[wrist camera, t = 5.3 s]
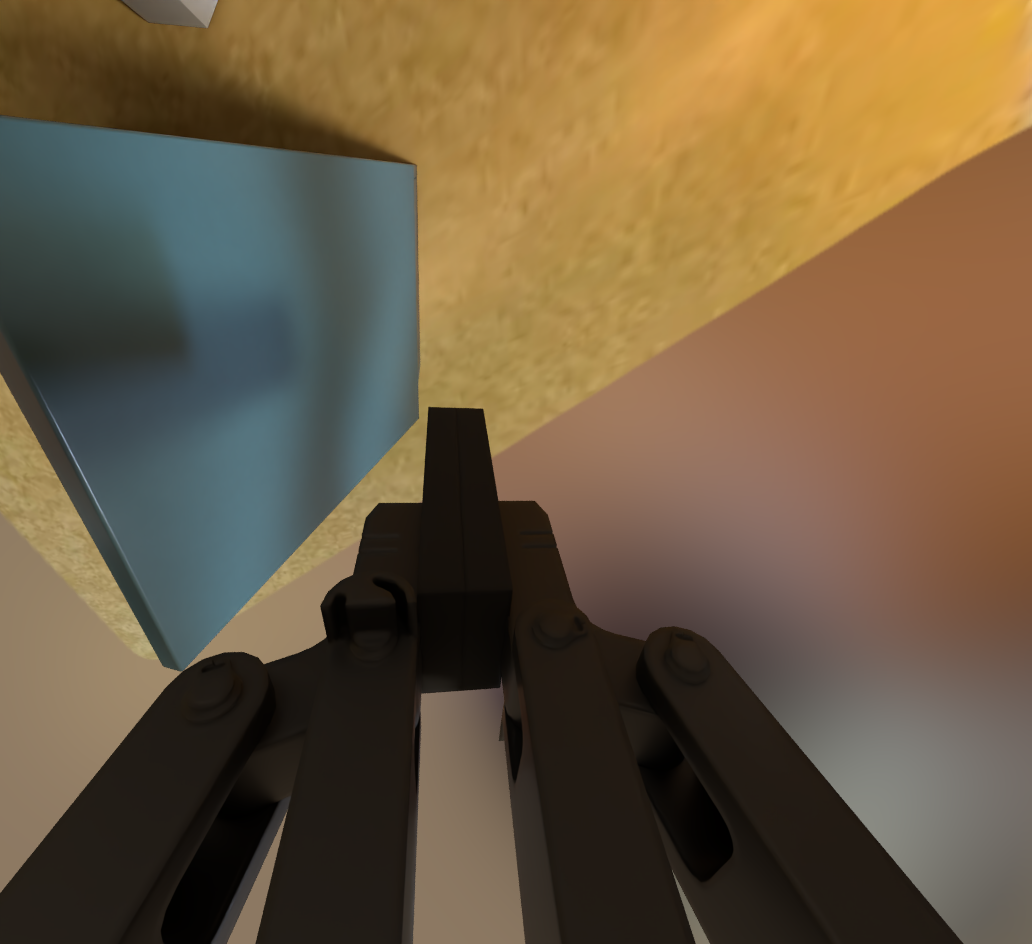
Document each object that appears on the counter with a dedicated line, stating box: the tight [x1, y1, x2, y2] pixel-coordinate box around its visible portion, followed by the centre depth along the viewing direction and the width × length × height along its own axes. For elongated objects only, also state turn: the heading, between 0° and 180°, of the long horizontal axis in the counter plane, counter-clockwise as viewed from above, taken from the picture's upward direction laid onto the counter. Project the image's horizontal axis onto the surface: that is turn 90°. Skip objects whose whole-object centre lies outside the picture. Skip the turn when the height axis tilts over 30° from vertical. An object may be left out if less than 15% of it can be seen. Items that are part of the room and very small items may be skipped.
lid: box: [0, 115, 419, 671], centre depth 17 cm, size 18×13×1 cm
